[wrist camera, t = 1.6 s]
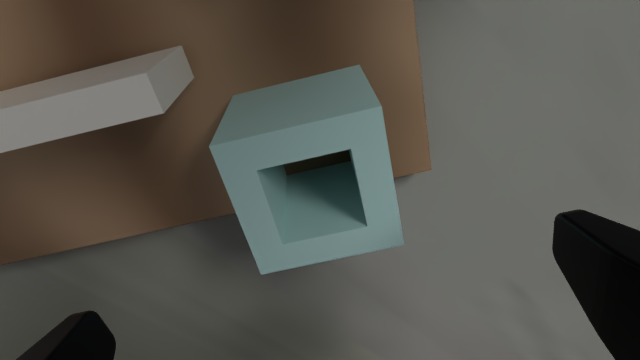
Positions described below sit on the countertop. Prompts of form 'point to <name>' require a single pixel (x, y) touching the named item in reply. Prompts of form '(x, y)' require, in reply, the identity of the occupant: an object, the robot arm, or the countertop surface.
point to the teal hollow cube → (313, 185)
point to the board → (184, 105)
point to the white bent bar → (92, 98)
